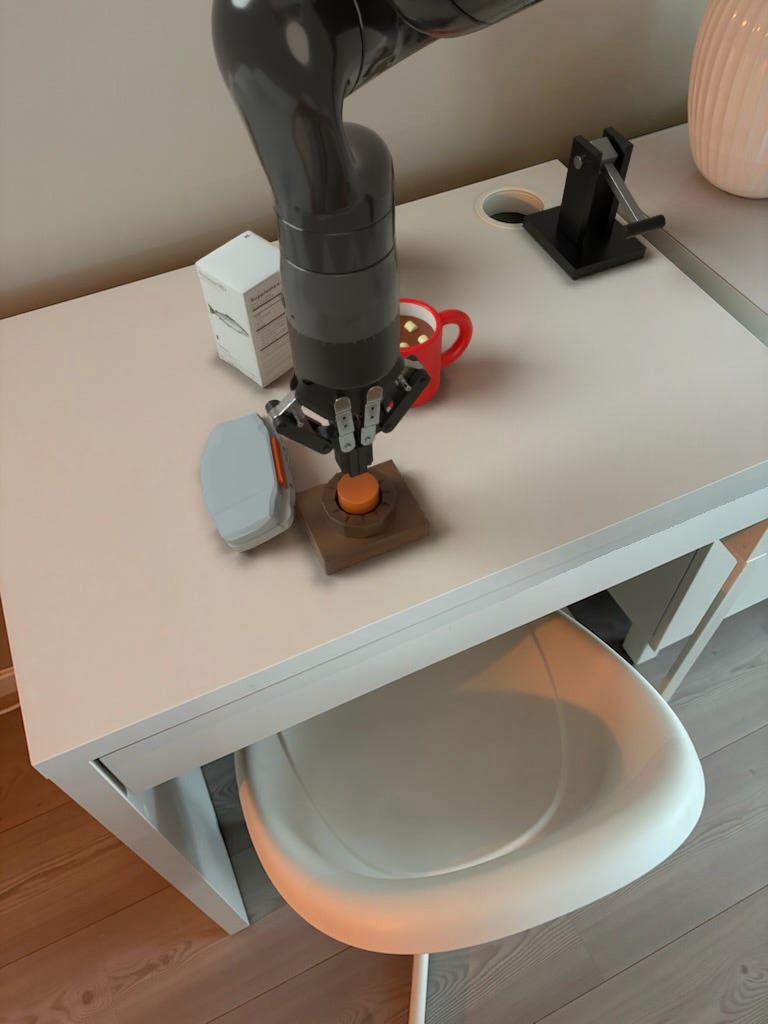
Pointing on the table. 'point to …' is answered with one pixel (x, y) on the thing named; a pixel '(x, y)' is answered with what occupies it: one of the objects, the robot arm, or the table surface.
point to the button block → (360, 520)
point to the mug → (431, 339)
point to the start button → (358, 493)
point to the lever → (624, 194)
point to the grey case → (247, 481)
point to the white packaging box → (247, 306)
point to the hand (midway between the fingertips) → (355, 467)
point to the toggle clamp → (587, 214)
